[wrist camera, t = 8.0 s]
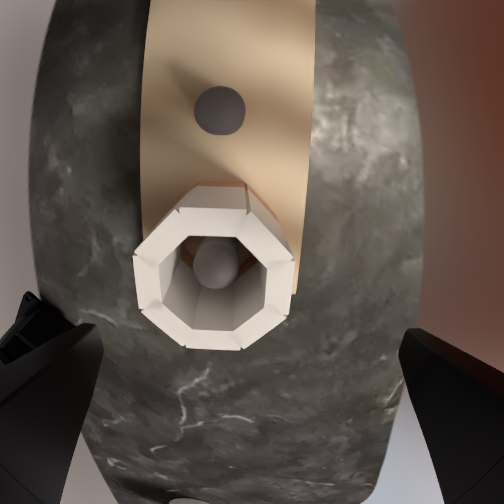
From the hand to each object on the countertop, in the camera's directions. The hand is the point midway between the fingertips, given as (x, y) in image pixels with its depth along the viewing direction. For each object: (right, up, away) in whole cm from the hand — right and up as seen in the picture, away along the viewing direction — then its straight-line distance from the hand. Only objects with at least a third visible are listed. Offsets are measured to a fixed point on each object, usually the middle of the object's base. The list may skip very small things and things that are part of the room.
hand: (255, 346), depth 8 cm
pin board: (-2, +10, +8) cm, 13 cm away
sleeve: (-2, +3, +9) cm, 10 cm away
